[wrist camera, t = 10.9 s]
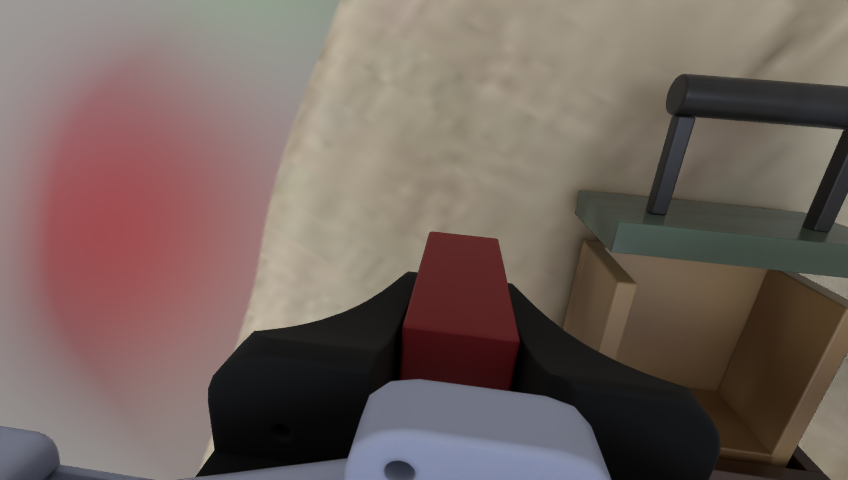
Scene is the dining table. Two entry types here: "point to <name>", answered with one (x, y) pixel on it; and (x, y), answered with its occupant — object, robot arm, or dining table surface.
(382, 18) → the dining table surface
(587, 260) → the drawer
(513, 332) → the card box
